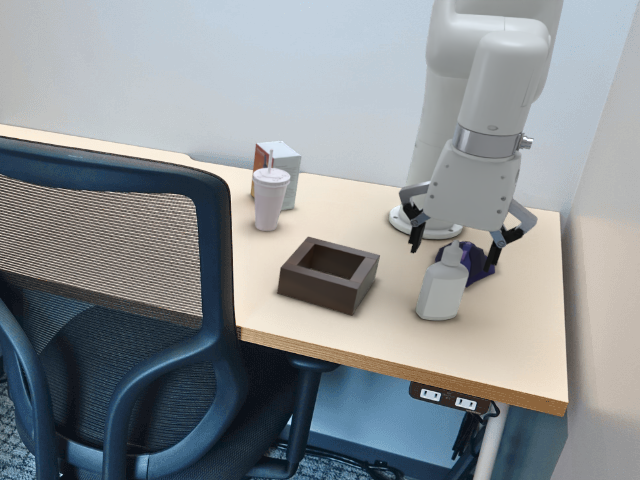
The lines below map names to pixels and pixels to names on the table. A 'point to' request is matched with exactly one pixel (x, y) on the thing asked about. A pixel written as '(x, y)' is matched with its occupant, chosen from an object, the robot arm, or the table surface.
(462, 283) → the eye dropper bottle
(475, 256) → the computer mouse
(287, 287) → the holder
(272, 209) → the smoothie
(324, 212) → the table surface
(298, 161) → the small box
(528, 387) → the table surface
